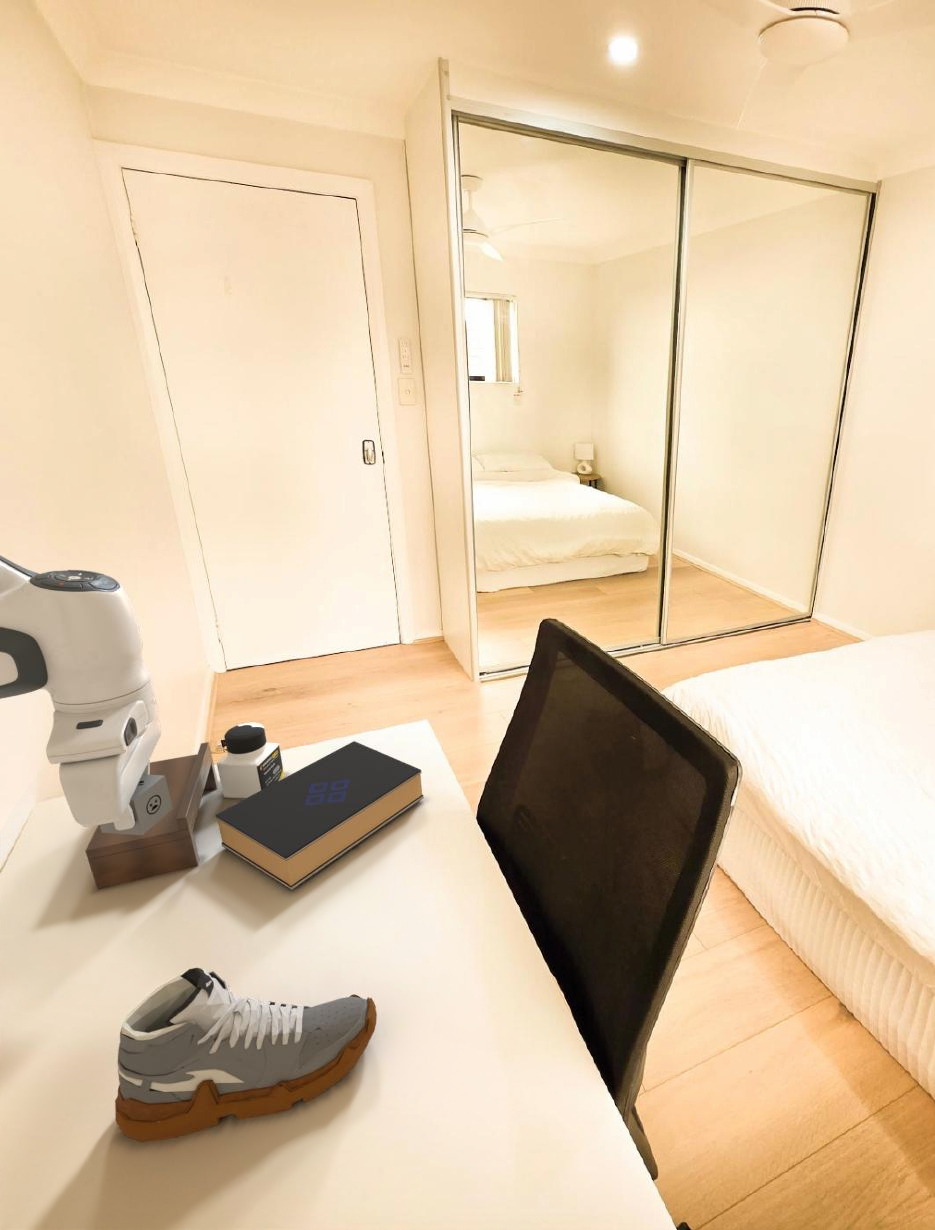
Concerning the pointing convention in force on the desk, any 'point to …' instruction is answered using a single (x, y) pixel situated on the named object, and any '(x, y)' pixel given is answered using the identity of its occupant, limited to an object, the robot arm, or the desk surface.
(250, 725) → the medicine bottle
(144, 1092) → the sneaker
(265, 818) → the book
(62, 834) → the desk surface
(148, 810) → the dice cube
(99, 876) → the wooden cradle stand
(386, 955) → the desk surface
